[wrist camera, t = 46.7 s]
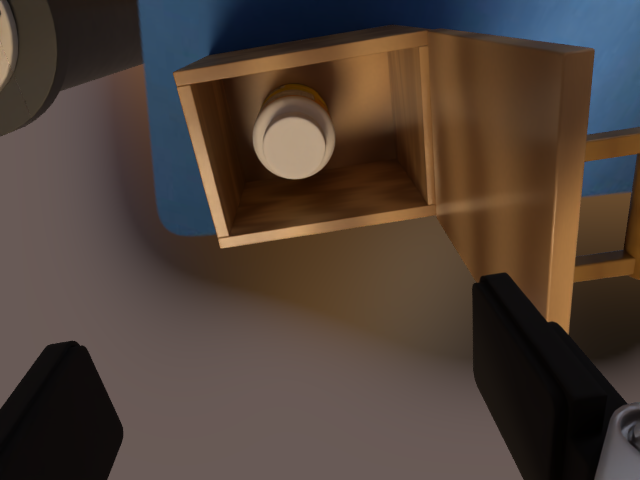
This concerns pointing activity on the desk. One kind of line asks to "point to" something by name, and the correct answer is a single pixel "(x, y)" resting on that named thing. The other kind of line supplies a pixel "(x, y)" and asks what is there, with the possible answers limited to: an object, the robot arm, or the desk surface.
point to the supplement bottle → (294, 132)
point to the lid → (522, 162)
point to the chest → (349, 123)
